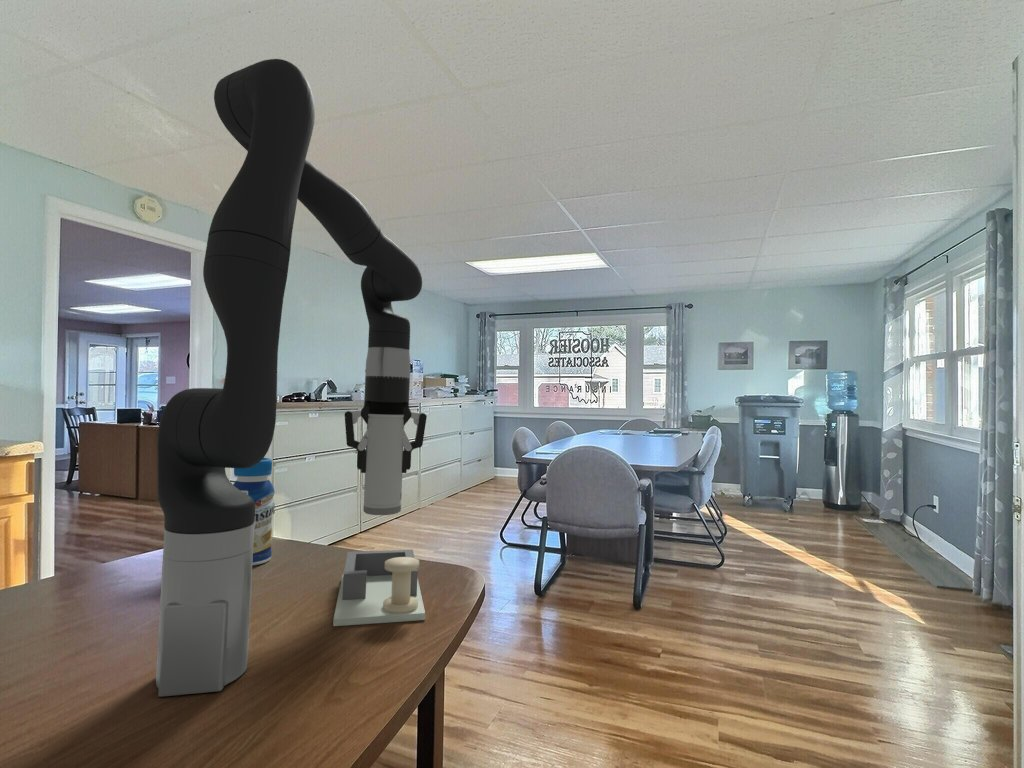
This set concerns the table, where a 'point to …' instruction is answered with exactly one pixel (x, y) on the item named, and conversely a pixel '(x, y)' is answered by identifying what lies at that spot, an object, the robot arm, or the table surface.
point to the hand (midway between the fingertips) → (383, 472)
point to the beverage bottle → (259, 505)
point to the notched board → (379, 589)
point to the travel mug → (384, 459)
